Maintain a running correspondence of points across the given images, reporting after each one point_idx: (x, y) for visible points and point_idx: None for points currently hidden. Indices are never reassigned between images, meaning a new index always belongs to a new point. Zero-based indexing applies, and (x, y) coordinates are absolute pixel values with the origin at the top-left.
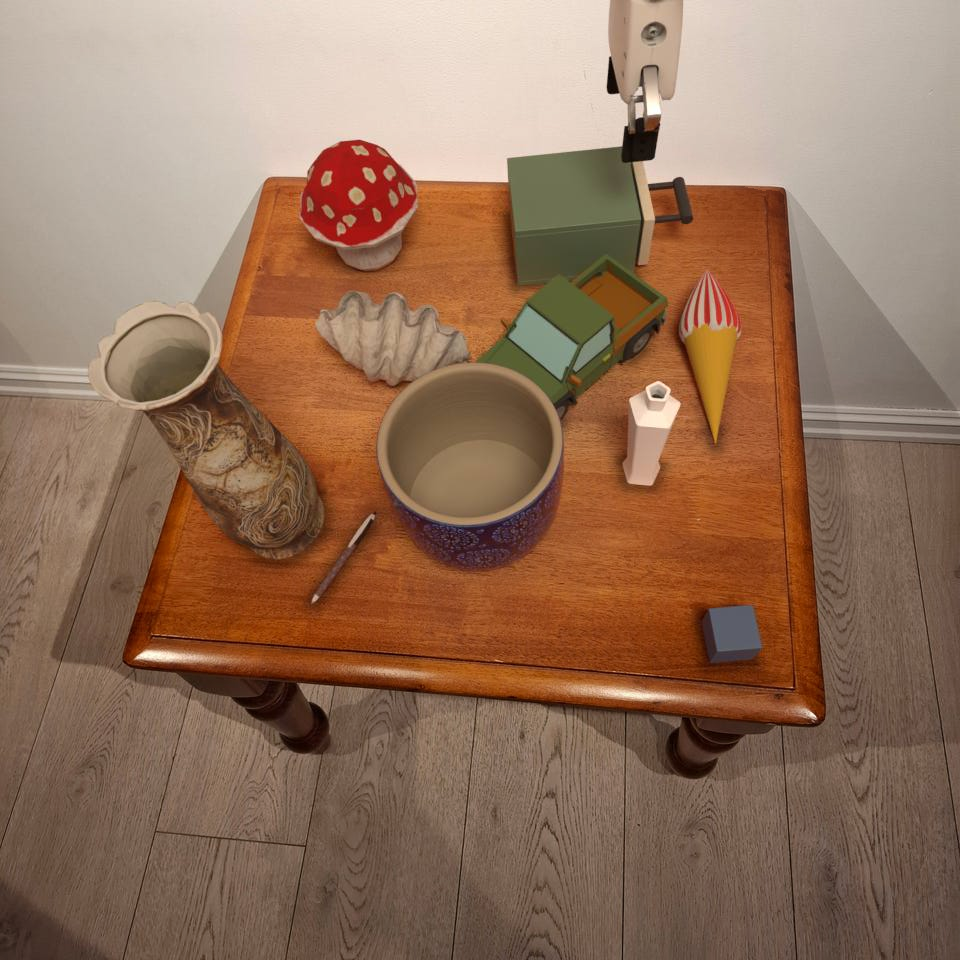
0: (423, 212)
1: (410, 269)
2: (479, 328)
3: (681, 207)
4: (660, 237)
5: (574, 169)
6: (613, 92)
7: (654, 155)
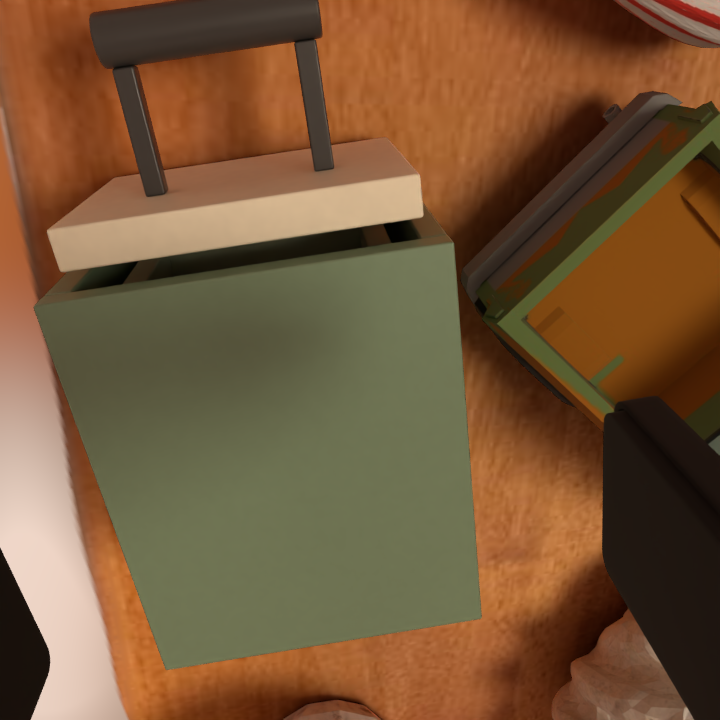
0: (207, 673)
1: (377, 670)
2: (550, 532)
3: (266, 36)
4: (244, 85)
5: (197, 484)
6: (39, 648)
7: (664, 406)
